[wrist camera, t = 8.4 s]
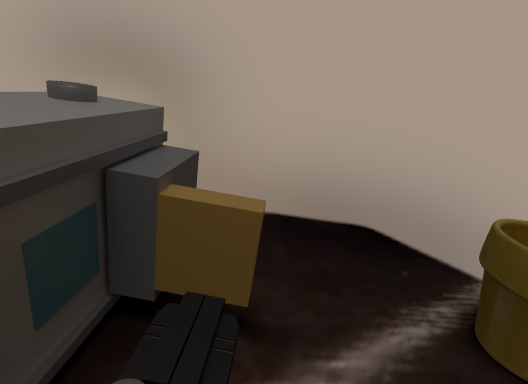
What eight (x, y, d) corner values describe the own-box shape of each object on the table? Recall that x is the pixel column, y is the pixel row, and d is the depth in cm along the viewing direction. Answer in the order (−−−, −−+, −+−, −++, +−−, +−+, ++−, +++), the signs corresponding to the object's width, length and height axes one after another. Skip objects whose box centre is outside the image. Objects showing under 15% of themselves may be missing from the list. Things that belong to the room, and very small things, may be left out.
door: (109, 292, 20) (105, 168, 17) (159, 237, 28) (162, 144, 25) (245, 318, 20) (265, 197, 17) (258, 255, 27) (273, 164, 24)
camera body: (-284, 489, 11) (-662, 41, 6) (100, 223, 32) (93, 80, 27) (-64, 539, 10) (-251, 114, 5) (175, 236, 32) (183, 95, 27)
